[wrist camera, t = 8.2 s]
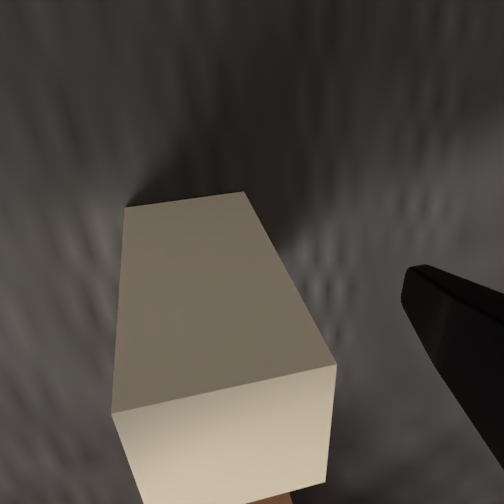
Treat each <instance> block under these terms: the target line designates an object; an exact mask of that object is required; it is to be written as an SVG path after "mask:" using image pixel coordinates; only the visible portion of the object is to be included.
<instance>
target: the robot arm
mask: <svg viewBox="0 0 504 504" xmlns="http://www.w3.org/2000/svg"><path fill="white" fill-rule="evenodd" d="M401 303H402V306H403V308H404V310H405V312H406V314H407V316H408V318H409V320H410V322H411V324H412V325H413V327H414V329H415V331H416V333H417V335H418V337H419V339H420V341H421V343H422V344H423V346H424V348H425V350H426V352H427V354H428V356H429V357H430V359H431V361H432V363H433V364H434V366H435V368H436V369H437V371H438V372H439V374H440V375H441V377H442V378H443V380H444V381H445V383H446V384H447V386H448V387H449V389H450V390H451V392H452V393H453V395H454V396H455V398H456V399H457V401H458V402H459V404H460V405H461V407H462V408H463V410H464V411H465V413H466V414H467V416H468V417H469V419H470V420H471V422H472V423H473V425H474V426H475V428H476V429H477V431H478V432H479V434H480V435H481V437H482V438H483V440H484V441H485V443H486V444H487V446H488V447H489V449H490V450H491V452H492V453H493V455H494V456H495V458H496V459H497V461H498V462H499V464H500V465H501V467H502V468H503V469H504V294H503V293H500V292H498V291H495V290H493V289H490V288H487V287H485V286H482V285H480V284H477V283H474V282H472V281H469V280H467V279H464V278H461V277H459V276H456V275H453V274H451V273H448V272H446V271H443V270H440V269H438V268H435V267H433V266H430V265H426V264H423V265H418V266H412V267H409V268H408V269H407V271H406V273H405V278H404V283H403V288H402V293H401Z"/></svg>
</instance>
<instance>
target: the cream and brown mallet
mask: <svg viewBox="0 0 504 504" xmlns="http://www.w3.org/2000/svg"><path fill="white" fill-rule="evenodd" d="M336 369H337V363H336V361H335V360H334V358H333V356H332V354H331V352H330V350H329V348H328V347H327V345H326V343H325V341H324V339H323V337H322V335H321V334H320V332H319V330H318V328H317V326H316V324H315V322H314V321H313V319H312V317H311V315H310V313H309V311H308V309H307V308H306V306H305V304H304V302H303V300H302V298H301V296H300V295H299V293H298V291H297V289H296V287H295V285H294V283H293V282H292V280H291V278H290V276H289V274H288V272H287V270H286V269H285V267H284V265H283V263H282V261H281V259H280V257H279V256H278V254H277V252H276V250H275V248H274V246H273V244H272V243H271V241H270V239H269V237H268V235H267V233H266V231H265V230H264V228H263V226H262V224H261V222H260V220H259V218H258V217H257V215H256V213H255V211H254V209H253V207H252V206H251V204H250V202H249V200H248V198H247V196H246V194H245V193H244V191H243V192H236V193H229V194H221V195H214V196H207V197H199V198H192V199H185V200H178V201H170V202H163V203H156V204H148V205H141V206H134V207H127V208H125V211H124V226H123V241H122V256H121V271H120V286H119V301H118V316H117V331H116V346H115V362H114V377H113V392H112V407H111V415H112V418H113V421H114V423H115V426H116V429H117V431H118V434H119V437H120V440H121V442H122V445H123V448H124V451H125V453H126V456H127V459H128V462H129V464H130V467H131V470H132V473H133V475H134V478H135V481H136V484H137V486H138V489H139V492H140V494H141V497H142V500H143V503H144V504H293V503H292V500H291V497H290V493H289V492H290V491H294V490H298V489H302V488H305V487H309V486H313V485H316V484H320V483H324V482H325V480H326V470H327V460H328V450H329V440H330V430H331V420H332V410H333V400H334V389H335V379H336Z"/></svg>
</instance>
